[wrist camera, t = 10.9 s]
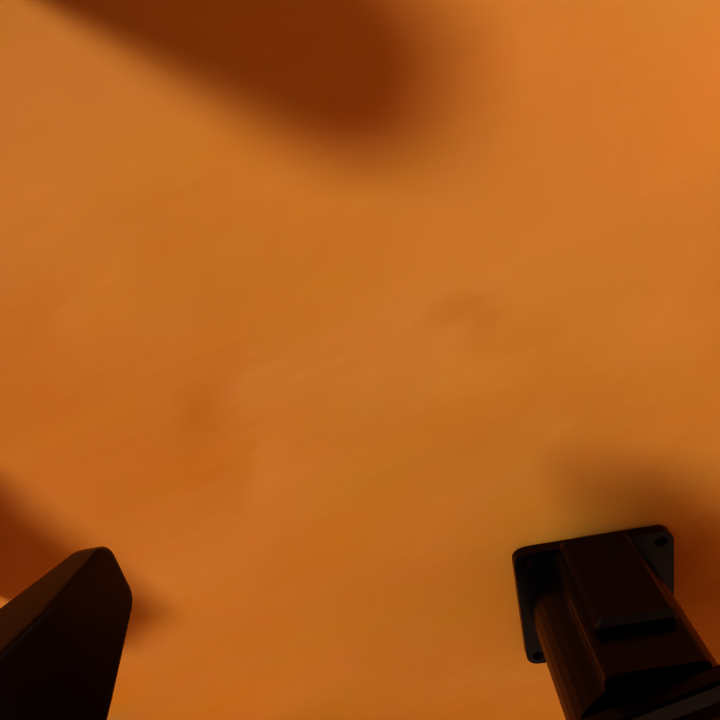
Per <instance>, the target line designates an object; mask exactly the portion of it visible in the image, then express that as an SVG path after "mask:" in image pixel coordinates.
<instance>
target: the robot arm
mask: <svg viewBox="0 0 720 720" xmlns="http://www.w3.org/2000/svg"><path fill="white" fill-rule="evenodd" d="M659 537H661V538H660V539H658V540H656V539H657V538H659ZM524 559H528V560H527V561H522V560H524ZM512 563H513V570H514V577H515V584H516V591H517V598H518V606H519V613H520V620H521V627H522V634H523V641H524V648H525V652H526V656H527V658H528V660H529V661H530V662H531V663H546V662H547V665H548V668H549V671H550V674H551V677H552V680H553V683H554V686H555V689H556V692H557V695H558V698H559V701H560V704H561V707H562V710H563V713H564V716H565V719H566V720H720V664H719V665H718V664H717V662H716V661H715V659H714V658H713V656H712V655H711V653H710V652H709V650H708V649H707V647H706V645H705V644H704V642H703V641H702V639H701V638H700V636H699V635H698V633H697V632H696V630H695V628H694V627H693V625H692V624H691V622H690V621H689V619H688V618H687V616H686V615H685V613H684V611H683V610H682V608H681V607H680V605H679V604H678V602H677V601H676V599H675V598H674V539H673V536H672V534H671V533H670V532H669V530H668V529H667V528H666V527H664V526H661V525H659V526H651V527H644V528H638V529H632V530H626V531H620V532H614V533H608V534H602V535H596V536H590V537H584V538H578V539H572V540H566V541H560V542H554V543H548V544H542V545H536V546H529V547H523V548H520V549H518V550H516V551H515V552H514V553H513V555H512ZM131 609H132V593H131V590H130V587H129V585H128V583H127V581H126V579H125V577H124V575H123V573H122V571H121V568H120V566H119V564H118V562H117V560H116V558H115V556H114V554H113V553H112V551H111V550H110V549H108V548H107V547H96V548H90V549H84V550H80V551H77V552H75V553H73V554H72V555H70V556H69V557H68V558H66V559H65V560H64V561H63V562H61V563H60V564H59V565H57V566H56V567H55V568H53V569H52V570H51V571H49V572H48V573H47V574H45V575H44V576H43V577H41V578H40V579H39V580H37V581H36V582H35V583H33V584H32V585H31V586H29V587H28V588H27V589H25V590H24V591H23V592H22V593H20V594H19V595H18V596H16V597H15V598H14V599H12V600H11V601H10V602H8V603H7V604H6V605H4V606H3V607H2V608H0V720H107V716H108V712H109V708H110V704H111V700H112V696H113V691H114V687H115V682H116V678H117V673H118V669H119V664H120V660H121V655H122V650H123V646H124V641H125V637H126V632H127V628H128V623H129V619H130V614H131Z"/></svg>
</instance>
